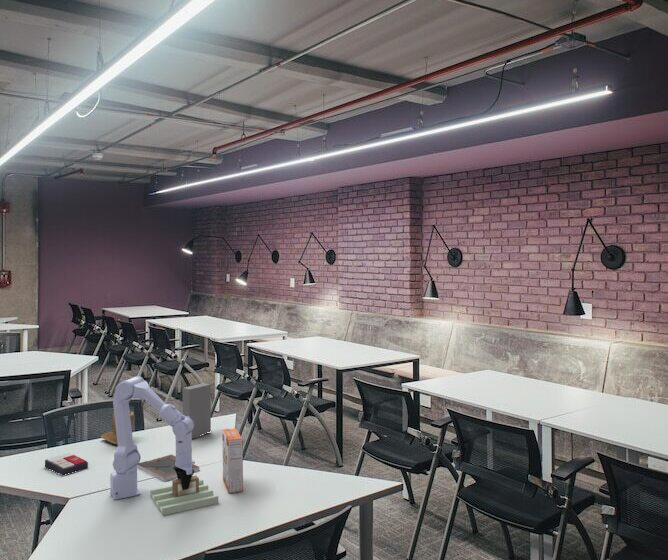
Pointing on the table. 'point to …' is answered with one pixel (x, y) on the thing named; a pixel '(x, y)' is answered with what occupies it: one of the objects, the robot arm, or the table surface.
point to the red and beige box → (66, 463)
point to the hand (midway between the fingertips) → (184, 487)
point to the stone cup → (112, 435)
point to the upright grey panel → (198, 407)
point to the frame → (192, 489)
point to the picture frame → (162, 467)
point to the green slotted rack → (182, 499)
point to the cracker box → (232, 460)
